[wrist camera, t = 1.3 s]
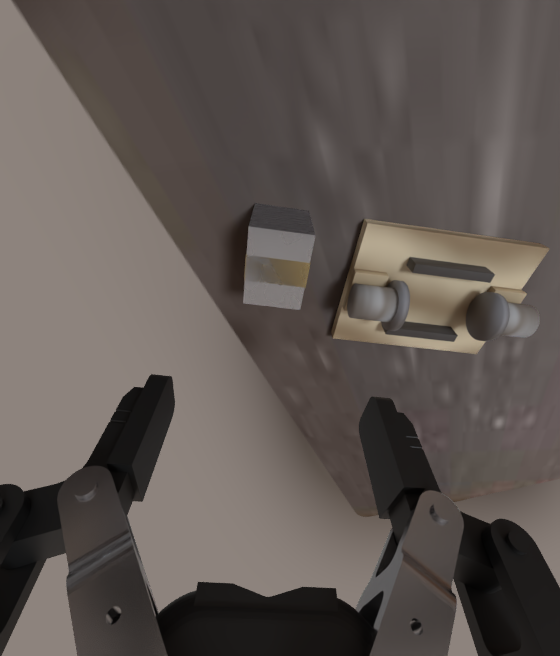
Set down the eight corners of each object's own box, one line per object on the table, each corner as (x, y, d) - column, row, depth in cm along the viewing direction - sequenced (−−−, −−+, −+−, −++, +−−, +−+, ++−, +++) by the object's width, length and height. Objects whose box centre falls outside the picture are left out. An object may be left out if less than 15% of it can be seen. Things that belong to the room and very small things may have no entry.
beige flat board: (364, 218, 25) (382, 243, 21) (539, 243, 27) (593, 271, 22) (331, 331, 32) (339, 368, 28) (471, 346, 34) (501, 384, 29)
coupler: (254, 203, 25) (247, 226, 20) (309, 210, 25) (316, 235, 20) (249, 269, 28) (242, 303, 23) (297, 275, 29) (300, 309, 24)
